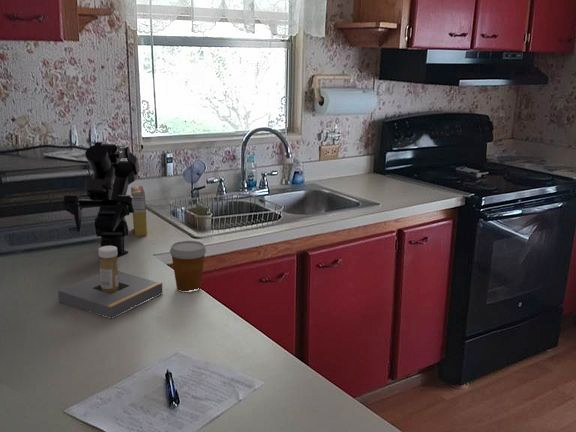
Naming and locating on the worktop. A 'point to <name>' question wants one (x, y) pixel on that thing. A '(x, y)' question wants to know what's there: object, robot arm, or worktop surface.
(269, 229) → the worktop surface
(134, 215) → the candy box
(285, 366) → the worktop surface
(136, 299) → the socket plate
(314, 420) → the worktop surface
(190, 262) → the disposable coffee cup
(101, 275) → the amber pill bottle
